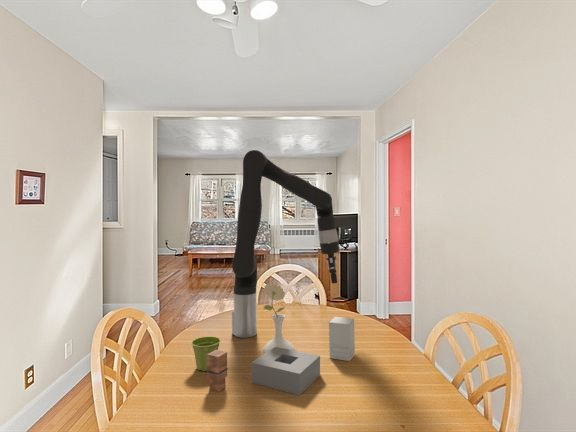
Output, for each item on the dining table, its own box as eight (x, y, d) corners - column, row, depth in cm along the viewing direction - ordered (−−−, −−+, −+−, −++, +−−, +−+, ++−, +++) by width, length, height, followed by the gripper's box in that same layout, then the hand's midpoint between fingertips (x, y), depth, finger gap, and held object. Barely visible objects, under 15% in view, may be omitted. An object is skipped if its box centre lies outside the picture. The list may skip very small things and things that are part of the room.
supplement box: (355, 353, 129) (355, 318, 129) (349, 361, 122) (349, 324, 122) (335, 350, 132) (335, 316, 132) (328, 358, 125) (328, 321, 125)
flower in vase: (301, 354, 129) (301, 283, 129) (279, 364, 121) (278, 289, 120) (275, 345, 138) (274, 279, 137) (252, 354, 129) (252, 283, 129)
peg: (207, 389, 104) (206, 354, 104) (216, 383, 108) (216, 349, 108) (218, 392, 102) (218, 357, 102) (227, 386, 106) (227, 351, 106)
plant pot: (189, 364, 121) (189, 338, 121) (217, 359, 125) (217, 334, 125) (193, 376, 113) (193, 348, 112) (224, 370, 116) (223, 343, 116)
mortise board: (251, 382, 108) (251, 362, 108) (275, 364, 120) (275, 346, 120) (299, 395, 100) (299, 373, 100) (320, 374, 113) (320, 355, 113)
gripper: (320, 240, 154) (325, 278, 154) (319, 244, 140) (324, 285, 140) (337, 238, 153) (343, 276, 154) (338, 241, 139) (344, 283, 139)
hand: (334, 280), depth 147 cm, fingers open, 8 cm apart
